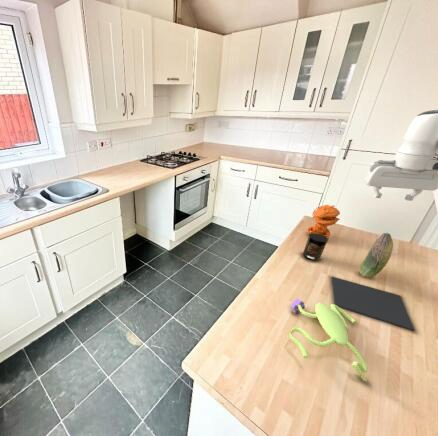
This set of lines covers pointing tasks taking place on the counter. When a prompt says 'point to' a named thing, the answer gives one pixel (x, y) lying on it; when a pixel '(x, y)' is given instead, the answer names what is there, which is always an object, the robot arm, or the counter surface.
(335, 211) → the toy dinosaur
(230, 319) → the counter surface
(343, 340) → the figurine
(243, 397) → the counter surface
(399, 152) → the robot arm
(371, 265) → the vegetable
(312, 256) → the supplement container
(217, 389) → the counter surface
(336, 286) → the mat
